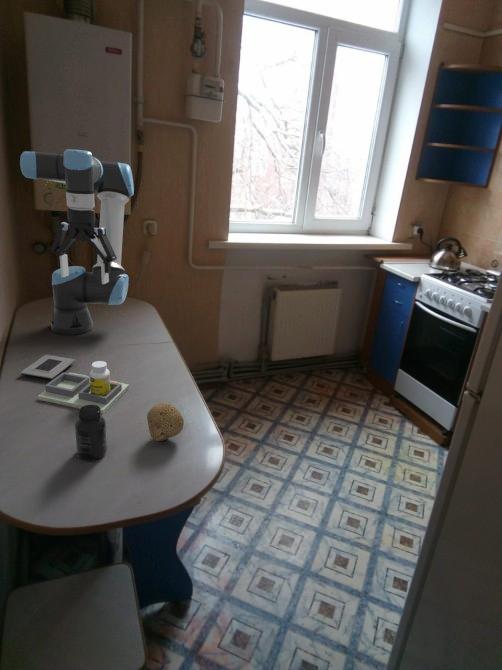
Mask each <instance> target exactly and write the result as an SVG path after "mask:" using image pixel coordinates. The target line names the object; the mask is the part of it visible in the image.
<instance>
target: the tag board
mask: <svg viewBox="0 0 502 670" xmlns="http://www.w3.org/2000/svg"><path fill="white" fill-rule="evenodd" d="M129 389H130V384H128V383H124V382H119V381H115V380H111V379H110V393H108V394H107V395H106V396H100V395H95V394H91V391H90V375H89V376H88V375H87V374H81V373H74V372H65V371H64V372H63V371H62V372H61V373H60V374H58V375H57V376H56V377H55V378H53V379H51V381H49V382H48V383H47V384H45V390H44V391H42V392H41V393H40V394H38V395H37V400H39V401H44V402H47V403H52V404H53V403H54V404H57V405H62V406H66V407H70V408H73V409H74V408H75V409H78V410H79V409H80V408H81V407H83V406H85V405H97V406H99V407H100V409H101V415H102V414H103V415H104V414H105V413H106V412H107V411H108V410H109V409H110V408H111V407H112V406H113V405H114V404H115V403H116V402H117V401H118V400H119V399H120V398H121V397H122V396H123V395H124V394H125V393H126V392H127V391H128V390H129Z"/></svg>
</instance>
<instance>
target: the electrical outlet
mask: <svg viewBox="0 0 502 670" xmlns="http://www.w3.org/2000/svg"><path fill="white" fill-rule="evenodd" d="M75 361H76V358H75V359H74V358H69V357H68V358H67V357H62V356H56V355H51V354H44V355H43V356H41V357H40V358H39V359H37V360H36V361H35V362H33V363H31V364H30V365H29V366H27V367H26V368H24V369H23V370H22V371H20V372H19V374H20V375H26V376H31V377H36V378H42V379H49V380H53V379H55V378H56V377H58V376H59V375H60V374H62V373H63V371H65V370H66V369H67V368H68V367H69V366H71V365H72V364H73V363H74V362H75Z"/></svg>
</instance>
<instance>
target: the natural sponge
mask: <svg viewBox="0 0 502 670" xmlns="http://www.w3.org/2000/svg"><path fill="white" fill-rule="evenodd" d="M146 417H147V418H146V419H147V424H148V429H149V430H148V431H149V435H150V437H151V439H152V440H153V441H157V442H159V441H160V442H163V441H165V440H168V439H169V438H173V437H177V435H179V434H180V433H181V432H182V431H183V429H184V417H183V416H182V414H181V412H180V411H179V409H178V408H177V407H176V406H175V405H173V404H171V403H168V402H161V403H157V404H156V405H153V407H151V408H150V409H149V411H148V412H147V415H146Z"/></svg>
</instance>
